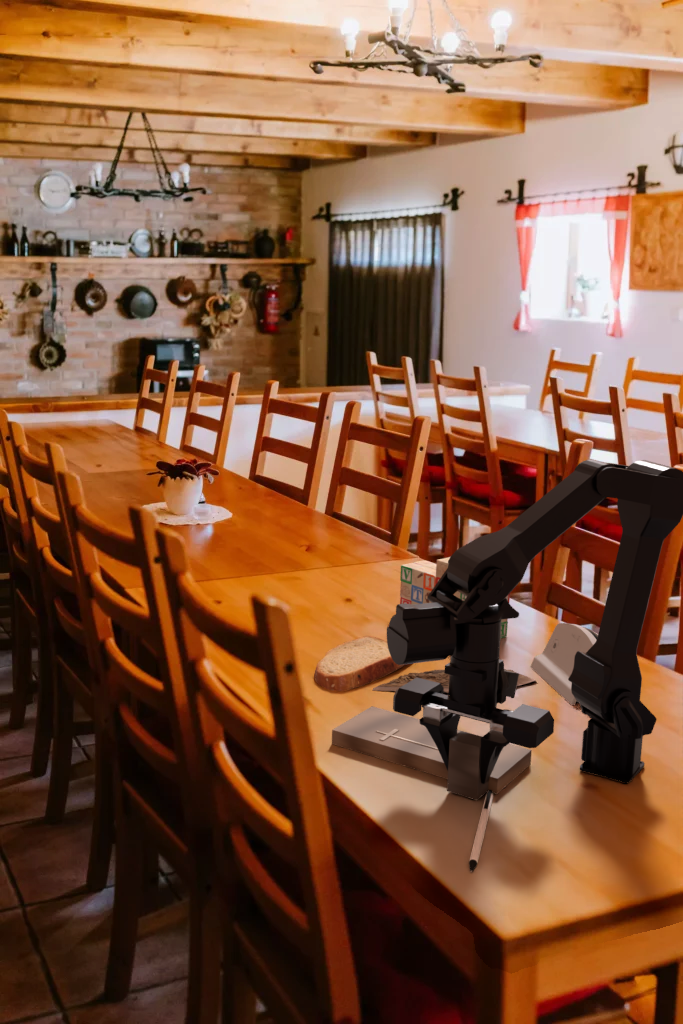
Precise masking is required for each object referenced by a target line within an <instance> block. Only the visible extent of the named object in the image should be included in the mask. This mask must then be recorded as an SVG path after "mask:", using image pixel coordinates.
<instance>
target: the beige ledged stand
mask: <svg viewBox="0 0 683 1024" xmlns="http://www.w3.org/2000/svg"><path fill="white" fill-rule="evenodd" d="M553 629H554V630H553V631H552V633H551V635H550V637H549V639H548V641H547V644H546V645H545V647H544V650H543V651H542V653H540V654H538V655H536V656H534V657H533V659H532V662H531V665H530V666H529V667H530V668H531V669H532V670H533V671H534V672H535V673H536V674H537V675H538V676H539V677H540V678H541V679H542V680H544V681H545V682H546V683H547V684H548V685H549V686H550V687H552V689H554V690H555V692H557V693H558V694H559V695H560V696H561V697H562V698H563V699H564V700H565V701H567V702H568V703H569V704H570V705H571V706H575V705H576V702H577V701H576V699H575V697H574V695H573V694H572V691H571V686H572V682H570V681H569V680H568V679H569V677H570V675H571V674H572V671H573V668H574V658H575V655H576V653H577V651H580V652H584V653H586V652H587V651H588V650H589V649H590V648H591V647H592V646H593V645H594V644H595V642H596V640H597V638H598V633H597V632H595V631H594V630H592V629H590V628H587V627H584V626H581V625H579V624H575V623H567V622H566V623H565V622H559V623H557V624H556V625H555V627H554V628H553Z"/></svg>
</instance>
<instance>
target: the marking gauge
mask: <svg viewBox="0 0 683 1024" xmlns="http://www.w3.org/2000/svg"><path fill="white" fill-rule="evenodd" d="M478 735H479V734H475V733H472V734H471V732H468V733H467V731H464V730H461V731H460V732H459V733H457V734H456V735H455V736H453V737H452V738H451V739H450V742H449V762H448V779H447V784H446V785H447V787H446V791H447V792H449V793H453V794H456V795H459V796H463V797H465V798H469V799H472V800H475V801H478V800H479V799H481V797H483V796H484V795H486V793H487V792H488V783H489V780H488V782H487V783H485V784H482V783H481V776H480V756H481V737H483V736H482V735H479V736H478Z"/></svg>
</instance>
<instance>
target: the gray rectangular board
mask: <svg viewBox="0 0 683 1024" xmlns="http://www.w3.org/2000/svg"><path fill="white" fill-rule="evenodd" d="M420 719H421V718H416V717H414V716H410V715H406V714H402V713H399V712H395V711H391V710H388V709H384V708H380V707H376V706H370V707H368V708H366V709H365V710H362V711H361V712H360V713H358V714H357V715H354V716H353V717H351V718H349V719H348V720H345V722H342V723H341V724H339V725H338V726H336V727H335V728H333V729H332V730H331V745H334V746H338V747H341V748H345V749H347V750H351V751H354V752H358V753H361V754H363V755H367V756H370V757H374V758H377V759H381V760H384V761H386V762H391V763H393V764H397V765H400V766H404V767H407V768H411V769H414V770H416V771H420V772H422V773H427V774H428V775H429V774H430V775H433V776H437V777H439V778H440V777H441V778H443V779H446V780H448V771H447V768H446V766H445V764H444V762H443V759H442V757H441V755H440V753H439V750H438V748H437V746H436V744H435V742H434V741H433V739H432V737H431V735H430V734H429V732H428V730H427V728H426V727H425V726H424V725H421V724H420ZM460 731H462V730H461V729H457V733H459V732H460ZM466 732H467V731H466ZM467 733H469V732H467ZM470 733H471V732H470ZM471 734H473V733H471ZM477 735H478V736H480V735H479V734H477ZM531 763H532V749H531V748H527V747H523V746H519V745H516V744H512V743H509V744H508V745H506V746H505V747H504V748H503V749H502V751H501V753H500V755H499V757H498V760H497V762H496V764H495V766H494V769H493V771H492V773H491V776H490V778H489V783H488V791H489V790H492V793H493V794H495V795H498V794H499V793H500V792H501V791H502V790H503V789H504V788H506V787H507V786H508V785H509V784H510V783H511V782H512V781H513V780H515V779H516V778H517V777H518V776H519V775H520V774H522V773H523V772H524V771H525V770H526V769H528V767H530V765H531ZM488 791H487V792H488Z"/></svg>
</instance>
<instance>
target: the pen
mask: <svg viewBox="0 0 683 1024" xmlns="http://www.w3.org/2000/svg"><path fill="white" fill-rule="evenodd" d="M493 800H494V793H492V790H489V791H487V792H486V793H485V797H484V801H483V805H482V809H481V813H480V817H479V821H478V825H477V828H476V833H475V837H474V841H473V845H472V849H471V853H470V858H469V861H468V866H469V871H470V873H472V872H473V871H474V870H475V868H476V867H477V865H478V863H479V859H480V854H481V849H482V845H483V842H484V837H485V833H486V828H487V825H488V820H489V815H490V812H491V808H492V803H493Z"/></svg>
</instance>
